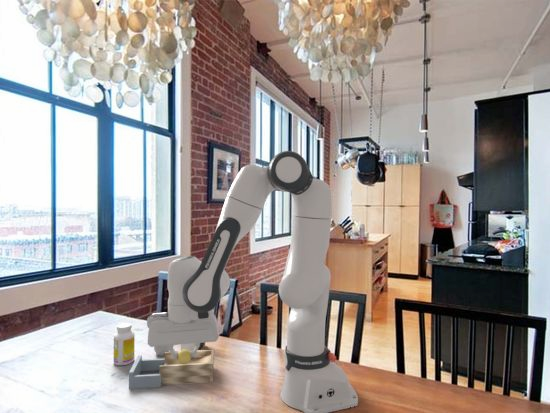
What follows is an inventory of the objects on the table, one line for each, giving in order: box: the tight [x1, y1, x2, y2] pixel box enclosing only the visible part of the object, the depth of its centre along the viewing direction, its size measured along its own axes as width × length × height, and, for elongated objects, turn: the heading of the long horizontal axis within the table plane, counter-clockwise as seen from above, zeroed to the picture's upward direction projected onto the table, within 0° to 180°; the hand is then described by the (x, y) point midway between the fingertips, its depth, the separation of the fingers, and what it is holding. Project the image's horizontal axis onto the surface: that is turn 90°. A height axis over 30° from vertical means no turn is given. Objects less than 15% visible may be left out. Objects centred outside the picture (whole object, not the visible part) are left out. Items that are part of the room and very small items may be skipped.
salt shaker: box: [153, 346, 170, 357], centre depth 124 cm, size 6×6×13 cm
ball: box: [177, 349, 191, 364], centre depth 99 cm, size 4×4×4 cm
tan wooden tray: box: [159, 349, 215, 386], centre depth 108 cm, size 16×10×6 cm, turn 99°
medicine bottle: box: [180, 342, 206, 351], centre depth 128 cm, size 7×7×12 cm
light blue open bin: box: [128, 355, 165, 390], centre depth 106 cm, size 9×11×5 cm
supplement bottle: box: [113, 322, 135, 366], centre depth 117 cm, size 7×7×13 cm
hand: (184, 358), depth 99 cm, fingers closed on ball, 4 cm apart
